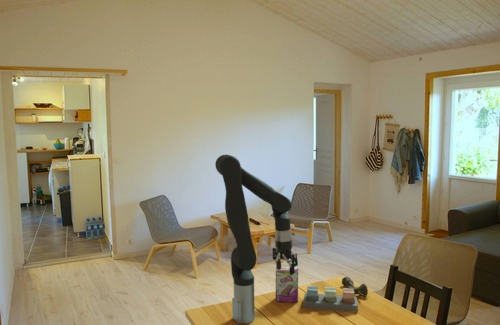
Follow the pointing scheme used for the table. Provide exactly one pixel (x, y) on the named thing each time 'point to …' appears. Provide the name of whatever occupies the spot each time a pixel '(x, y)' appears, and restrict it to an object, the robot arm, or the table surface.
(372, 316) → the table surface
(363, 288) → the kendama
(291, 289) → the candy bar box
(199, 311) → the table surface
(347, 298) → the terracotta block
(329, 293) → the sage block
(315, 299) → the slate-blue block
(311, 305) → the charcoal board
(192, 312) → the table surface
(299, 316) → the table surface
